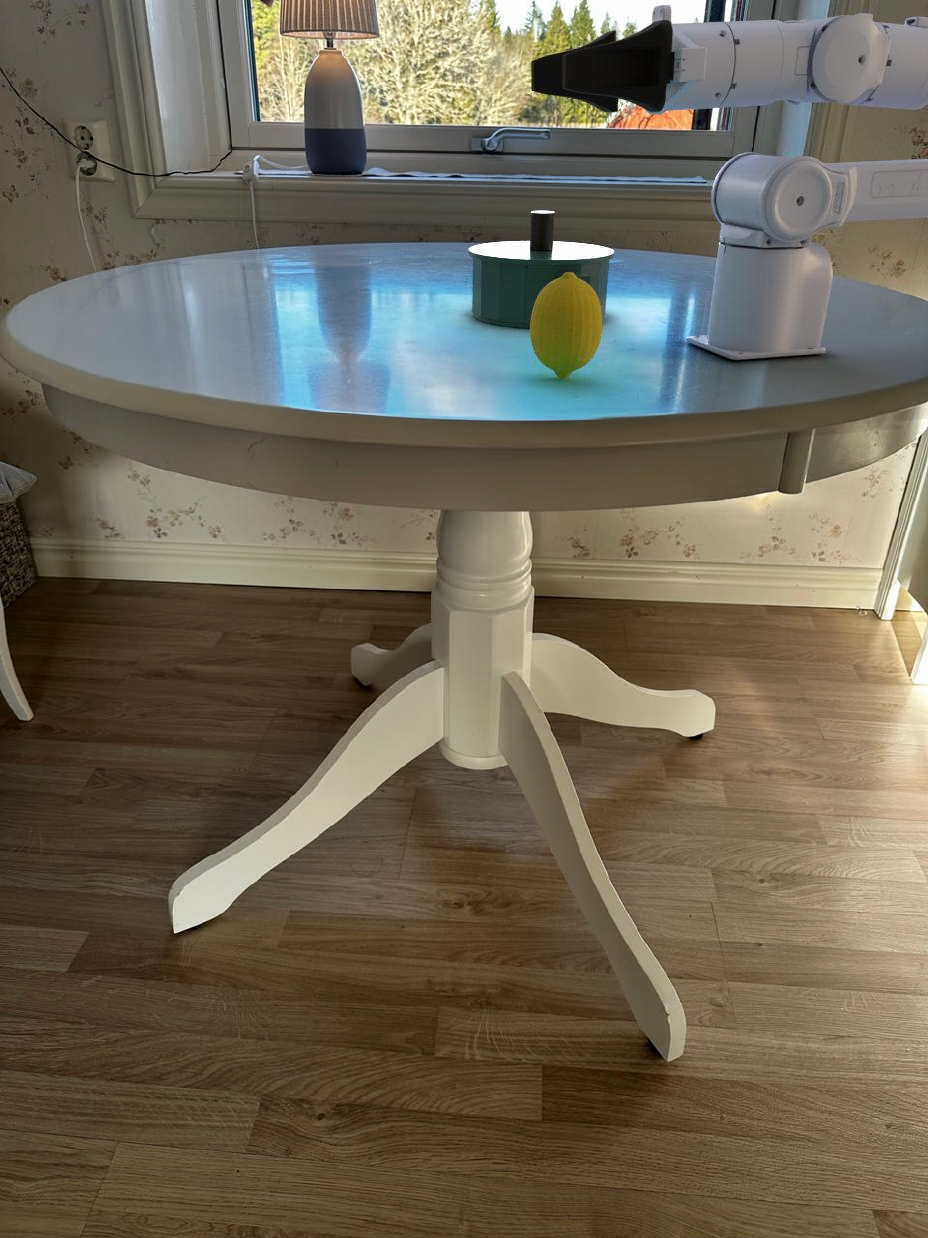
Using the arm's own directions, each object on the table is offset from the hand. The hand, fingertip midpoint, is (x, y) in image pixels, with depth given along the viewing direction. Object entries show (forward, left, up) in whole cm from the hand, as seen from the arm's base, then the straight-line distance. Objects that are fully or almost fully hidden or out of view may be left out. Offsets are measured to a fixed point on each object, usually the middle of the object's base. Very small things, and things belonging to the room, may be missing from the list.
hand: (547, 73), depth 68 cm
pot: (-8, -18, -21) cm, 29 cm away
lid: (-8, -18, -15) cm, 25 cm away
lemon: (0, +7, -21) cm, 22 cm away
